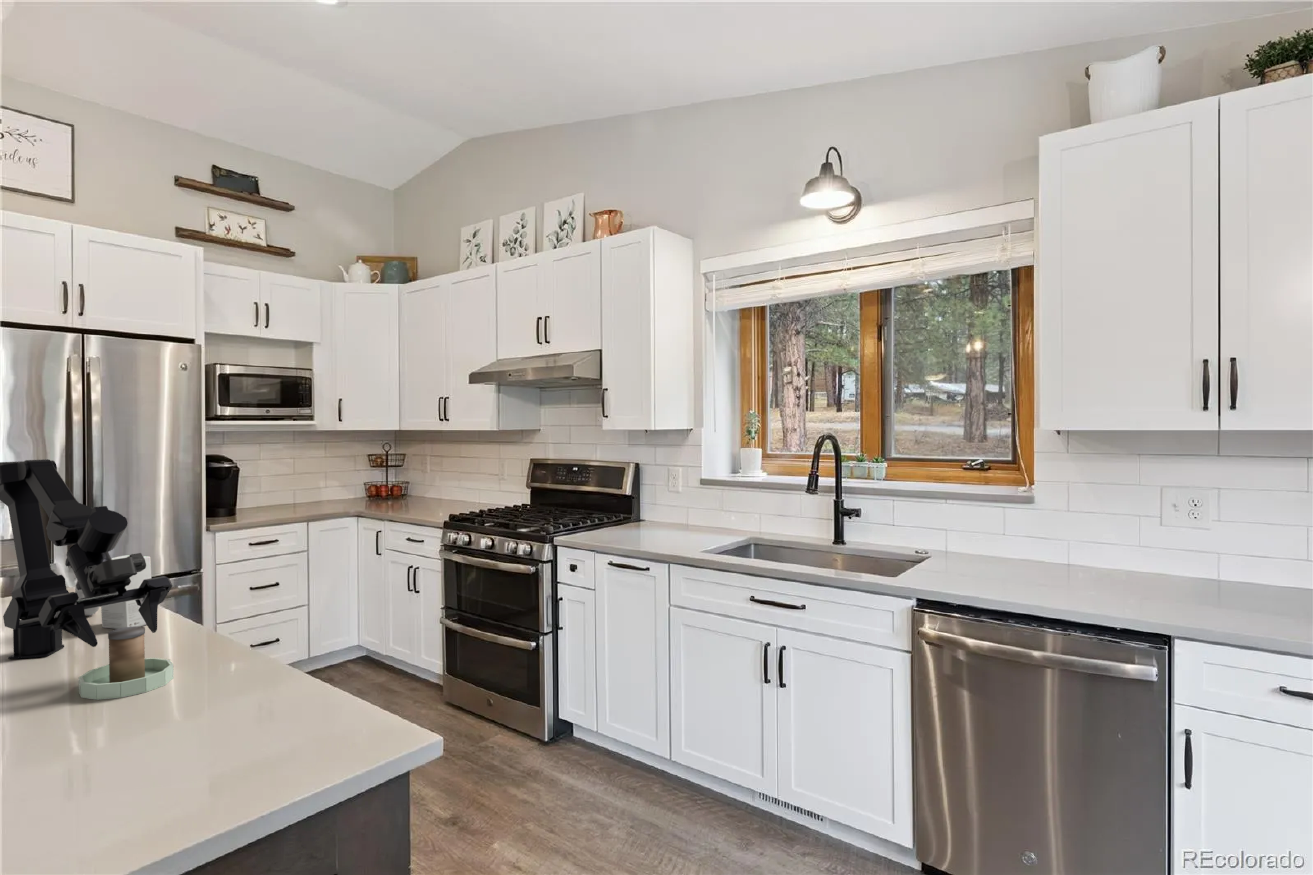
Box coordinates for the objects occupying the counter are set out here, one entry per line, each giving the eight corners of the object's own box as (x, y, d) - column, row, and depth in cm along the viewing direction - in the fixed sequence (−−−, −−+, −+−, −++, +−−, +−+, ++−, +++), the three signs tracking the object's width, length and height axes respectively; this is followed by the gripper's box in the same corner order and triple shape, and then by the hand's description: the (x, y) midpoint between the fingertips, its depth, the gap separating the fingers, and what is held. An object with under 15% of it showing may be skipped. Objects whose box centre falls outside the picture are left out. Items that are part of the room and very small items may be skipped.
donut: (103, 617, 166) (103, 575, 166) (85, 620, 164) (84, 578, 163) (91, 610, 172) (90, 570, 172) (73, 613, 170) (72, 572, 169)
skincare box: (154, 623, 161) (153, 556, 161) (124, 631, 155) (123, 561, 155) (128, 620, 164) (128, 553, 164) (98, 627, 158) (97, 559, 157)
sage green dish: (63, 702, 116) (62, 687, 116) (103, 675, 128) (103, 661, 128) (153, 695, 119) (153, 680, 119) (184, 669, 132) (184, 655, 132)
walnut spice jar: (100, 686, 122) (100, 634, 121) (127, 675, 127) (126, 625, 126) (127, 687, 121) (126, 635, 121) (153, 676, 126) (152, 627, 126)
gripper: (45, 549, 118) (77, 624, 113) (166, 533, 134) (199, 598, 129) (25, 590, 122) (55, 664, 117) (145, 570, 138) (176, 634, 133)
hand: (126, 638), depth 124 cm, fingers open, 9 cm apart
